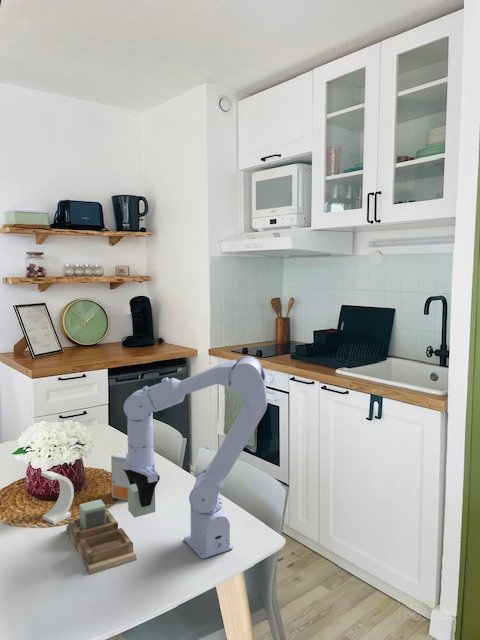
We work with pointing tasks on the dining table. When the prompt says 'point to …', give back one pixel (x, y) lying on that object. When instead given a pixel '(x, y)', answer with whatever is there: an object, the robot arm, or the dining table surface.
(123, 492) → the skincare box
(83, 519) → the seated block
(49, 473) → the headphone stand
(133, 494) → the finger block
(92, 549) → the compartment tray
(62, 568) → the dining table surface
